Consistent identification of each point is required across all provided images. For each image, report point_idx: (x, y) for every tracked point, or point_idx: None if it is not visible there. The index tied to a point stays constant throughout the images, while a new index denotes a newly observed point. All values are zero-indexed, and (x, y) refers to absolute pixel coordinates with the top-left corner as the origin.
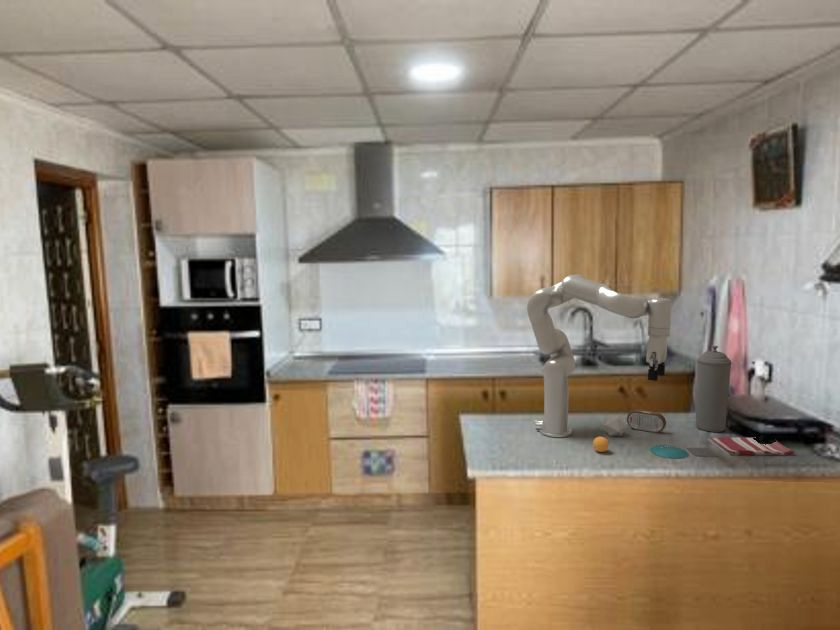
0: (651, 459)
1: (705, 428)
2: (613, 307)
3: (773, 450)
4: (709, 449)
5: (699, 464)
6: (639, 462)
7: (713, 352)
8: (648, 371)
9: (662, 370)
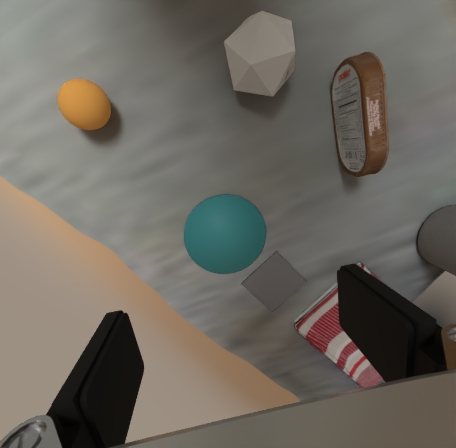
0: (150, 228)
1: (421, 237)
2: None
3: (363, 362)
4: (297, 287)
5: (200, 305)
6: (110, 218)
7: None
8: (70, 376)
9: (365, 347)
